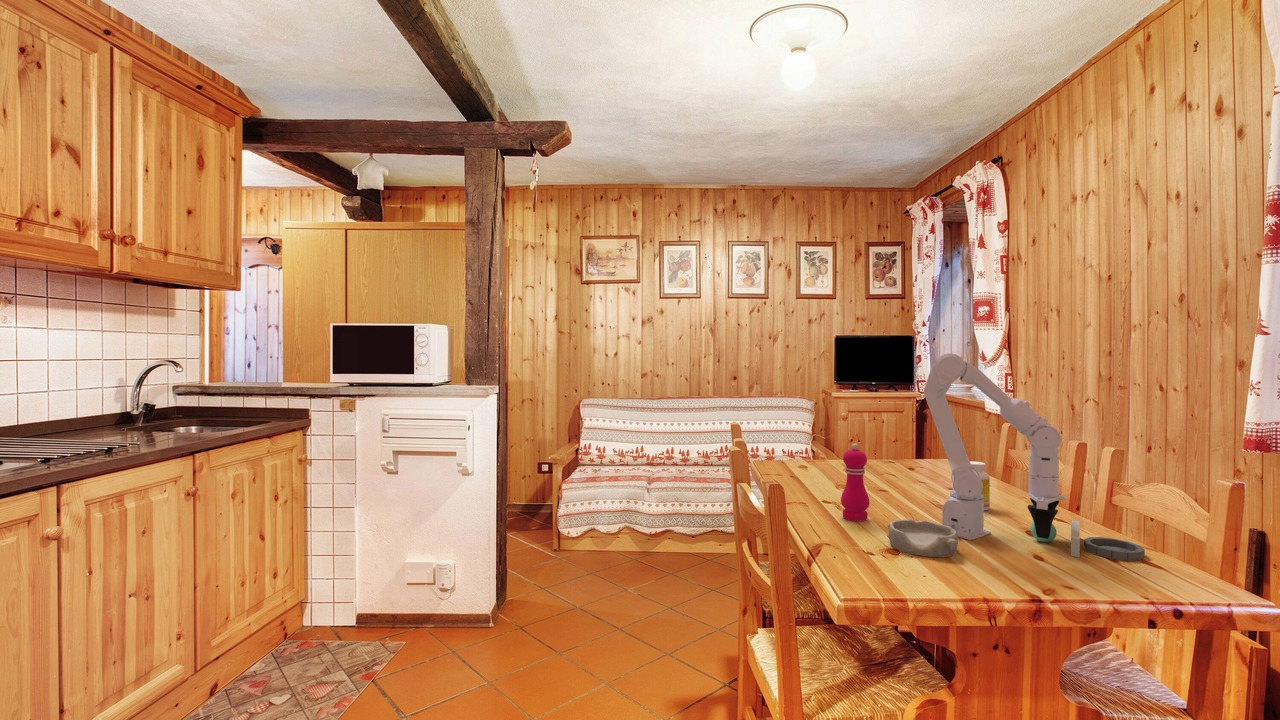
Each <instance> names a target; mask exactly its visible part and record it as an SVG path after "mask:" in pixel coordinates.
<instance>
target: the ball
mask: <svg viewBox="0 0 1280 720" xmlns="http://www.w3.org/2000/svg"><path fill="white" fill-rule="evenodd" d="M1030 533H1031V535H1032V537H1034V538H1035V540H1037V541H1038V542H1042V543H1048V542H1049V543H1050V542H1052V541H1053V540H1054V539H1055V538H1056V537H1057V528H1056V526H1055V525H1054V524H1053V523H1052V526H1051V531H1050V536H1049V538H1048V539H1045V538H1039V537H1037V534H1036V530H1035V525H1034V521H1033V522H1032V523H1031V525H1030Z"/></svg>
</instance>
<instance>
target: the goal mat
mask: <svg viewBox="0 0 1280 720" xmlns="http://www.w3.org/2000/svg"><path fill="white" fill-rule="evenodd" d="M1083 547H1084V551H1086V552H1088V553H1090V554H1093V555H1095V556H1099V557H1102V558H1106V559H1110V560H1116V561H1125V562H1138V561H1139V562H1140V561H1142V560H1144V557H1146V555H1145V548H1144V547H1142V546H1141V545H1139V544H1137V543H1134V542H1131V541H1127V540H1123V539H1119V538H1114V537H1113V538H1112V537H1102V536H1096V537H1095V536H1093V537H1092V536H1091V537H1090V536H1088V537H1086V538H1084V539H1083Z"/></svg>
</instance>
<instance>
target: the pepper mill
mask: <svg viewBox="0 0 1280 720" xmlns="http://www.w3.org/2000/svg"><path fill="white" fill-rule="evenodd" d="M842 460H843V461H842V462H843V463H844V465H845V467H844V470H845V471H844V472H845V474H846V482H845V486H844V489H843V491H842V493H841V497H840V504H841V505H842V507H843V508H844V509H843V510H842V518H843V519H844V520H847V521H851V522H864V521H867V520H868V518H869V517H868V516H869V515H868V513H869V512H867V511H866V510H868V508H869V507H870V498H869V494H868V492H867V490H866V487H865V484H864V482H865V481H864V474H866V472H865V471H866V468H865V466H866V465H867V462H868V456H867V454H866V453H865V452H864V451H863V450H861V449H859V445H858V443H852V444H851V449H848V450H846V451H845V452H844V454H843V456H842Z"/></svg>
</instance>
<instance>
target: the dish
mask: <svg viewBox="0 0 1280 720" xmlns="http://www.w3.org/2000/svg"><path fill="white" fill-rule="evenodd" d="M887 528H888V540H889V543H890V544H891V546H892V547H893V548H895V549H897V550H899V551H901V552H904V553H907V554H911V555H915V556H920V557H928V558H947V557H950V556H951V557H952V556H953V555H954V554H956V552H957V548H958V545H959V539H958V538H959V537H957V532H956V530H954V529H953V528H951V527H949V526H945V525H942V523H941V524H940V523H938V522H933V521H928V520H921V521H915V520H914V519H898V520H892V521H890V522H889V523H888V525H887Z"/></svg>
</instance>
